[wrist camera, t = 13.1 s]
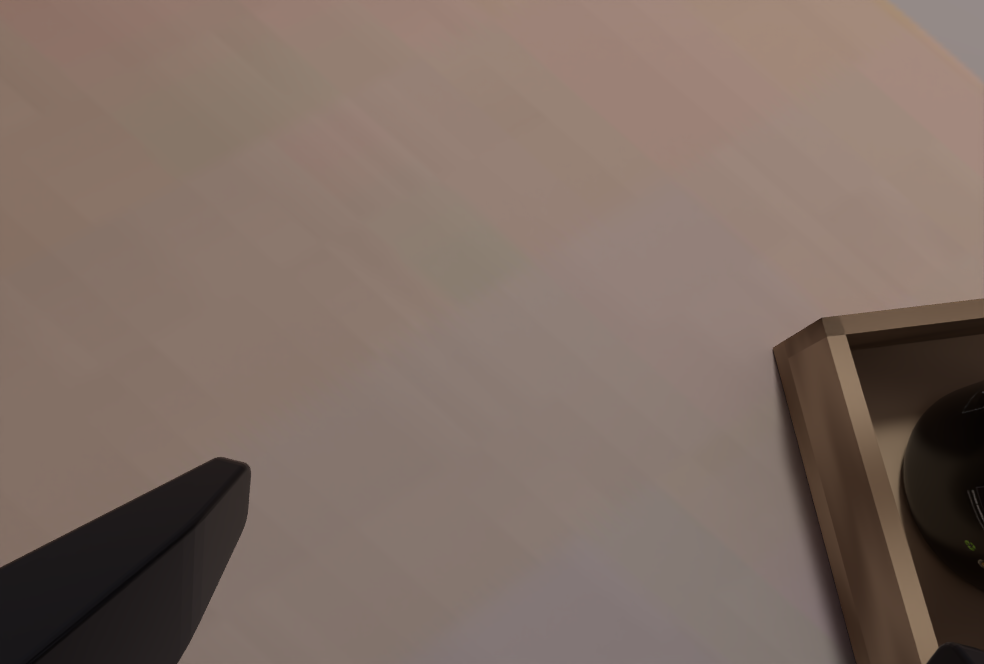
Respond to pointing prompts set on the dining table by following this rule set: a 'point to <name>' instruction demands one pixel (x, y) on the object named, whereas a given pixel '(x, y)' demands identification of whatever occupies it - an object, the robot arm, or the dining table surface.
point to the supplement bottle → (950, 480)
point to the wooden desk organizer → (882, 467)
